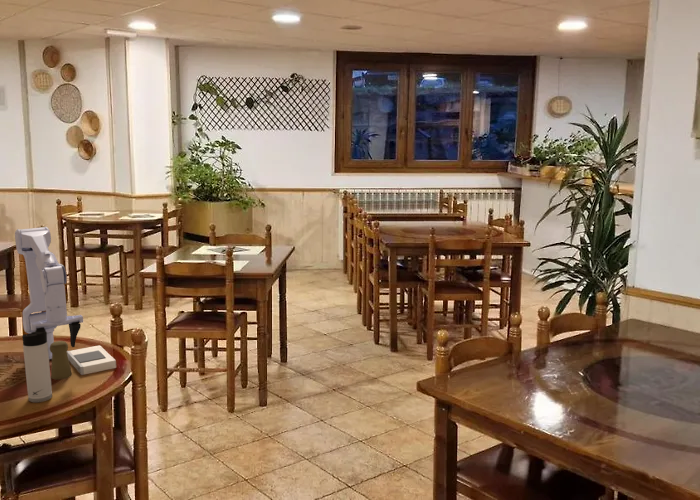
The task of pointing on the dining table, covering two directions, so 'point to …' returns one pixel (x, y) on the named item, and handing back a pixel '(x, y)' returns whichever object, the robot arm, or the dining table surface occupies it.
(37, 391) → the travel mug
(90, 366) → the dock board
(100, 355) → the mat
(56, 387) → the dining table surface
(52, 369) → the cork
